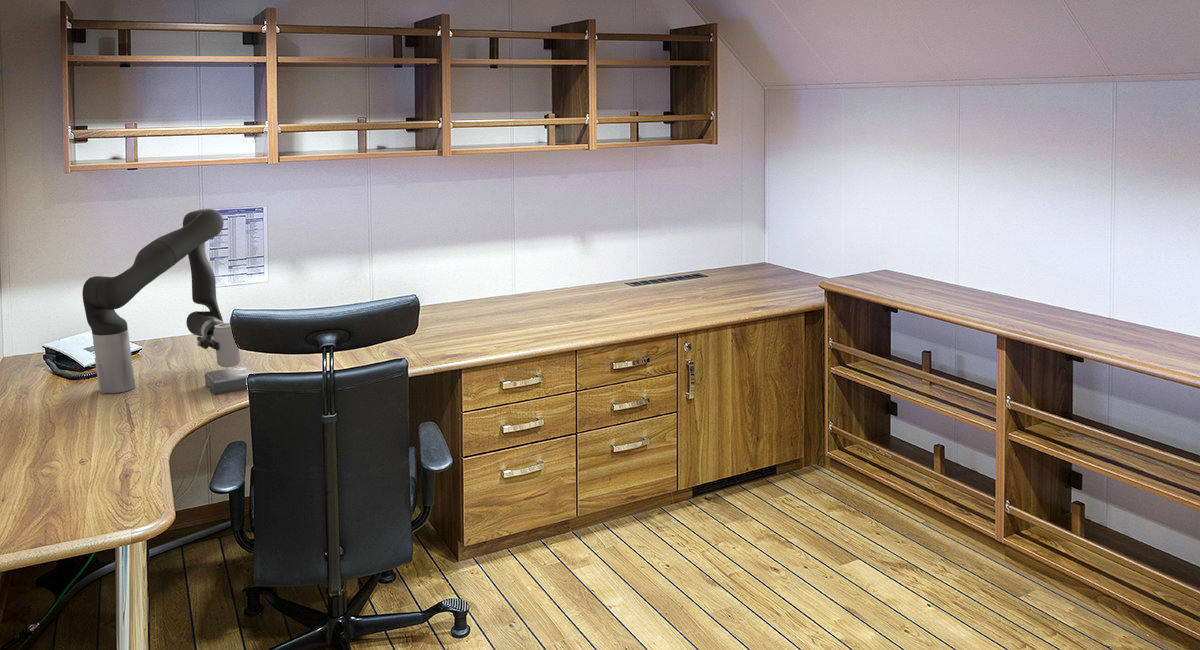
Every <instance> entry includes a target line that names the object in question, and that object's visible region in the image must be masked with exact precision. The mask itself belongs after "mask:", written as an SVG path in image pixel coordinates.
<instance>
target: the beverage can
mask: <svg viewBox="0 0 1200 650" xmlns="http://www.w3.org/2000/svg"><path fill="white" fill-rule="evenodd" d="M230 323H231V322H224V323H222V324H218V325H215V326H214V327H215V329H214V339H215V342H218V345H219V350H215V355H216V363H217V366H220V367H221V368H232V367H233V368H234V367H236V366H238V365H239V364H240V363H241V361H242V359H241V352H240V347H239V348H238V347H237V345H236V343H235V340H234V338H233V334H232V331H231V327H230Z"/></svg>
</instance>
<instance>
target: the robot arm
mask: <svg viewBox="0 0 1200 650" xmlns="http://www.w3.org/2000/svg"><path fill="white" fill-rule="evenodd" d="M224 224H225V223H224V217H223V215H222V214H221V213H220V212H219V211H218V210H216V209H213V208H203V209H198V210H193V211H190V212H188V213H186V214H185V215H184V217H183V219H182V227H181V228H179V229H176V230H173V231H171V232H169V233H166V234H164V235H162V236H159V237H157V238H156V239H153V241H151V242H149V243H147V245H144V247H142V248H141V249H140V250H139V251H138V252H137V254H136V256H135V259H134V261H133V264H132V265H131V267H129V268H128V269H126V270H124V272H122V273H120V274H118V275H116V276H101V275H96V276H91V277H89V278H88V279H87V280H86V281H85V282H84V283H83V286H82V295H81V296H82V303H83V307H84V314H85V316H86V322H87V324H88V326H89V328H90V330H91V335H92V343H93V349H94V356H95V357H94V361H95V362H94V364H95V370H96V377H97V385H98V390H99V392H100V394H102V395H104V394H117V393H118V394H119V393H124V392H128V391H131V390H133V389H135V388H136V381H135V375H134V366H133V359H132V351H131V344H130V343H131V342H130V336H129V328H128V322H127V320H126V319H124V318H123V317H121V316H120V315H118V313H117V312H116V310H118V309H120V308H122V307H124V306H125V305H126V304H128V303H129V302H130V301H131V300H132V299H133V298H134V297H135V296H137V294H139V293H140V292H141V290H142V289H144V288H145V287H146V286H148V285H149V284H150V283H152V282H153V281H155V280H156V279H157V278H158V277H159V276H161V275H163V274H164V273H165V272H167V271H168V270H170V269H171V268H173V267H174V266H175V265H176V264H177V263H178V262H180V261H181V260H183V259H184V258H185V257H186V256H188V260H189V265H190V267H189V268H190V273H191V274H190V275H191V298H192V299H191V300H192V302H193V303H194V304H197V305H202V306H205V307H206V308H208V310H209V311H208V310H207V311H203V310H202V311H200V310H199V311H192V312H190V313H189V314H188V315H187V317H186V327H187V330H188V332H190V333H191V334H192V335H194V336H197V337H196V340H197V343H196V344H197V346H198V347H200V348H202V349H204V350H207V349H208V348H210V349H212V350H215V351H216V350H219V345H218V342H215V339H214V329H215V327H214V326H215V325H218V324H222V323H225V322H224V320H223V316H222V313H221V311H220V308H219V304H218V299H217V288H216V287H217V285H216V276H215V273H214V270H213V268H212V266H211V264H210V262H209V260H208V257H207V254H206V250H205V242H208V241H209V240H212V239H214V237H216V236H219V235H220V233H221V232H222V230H223V228H224Z"/></svg>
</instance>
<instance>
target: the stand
mask: <svg viewBox="0 0 1200 650" xmlns="http://www.w3.org/2000/svg"><path fill="white" fill-rule="evenodd" d="M249 374H254V373H253V372H252V371H251V370H250V369H249V368H248V367H247V366H239V367H233V368H232V367H230V368H225V369H219V370H212V371H207V372H205V373H204V381H205V382H204V383H205V386H206V388H207V389H209V391H210V393H212V395H213V396H219V395H224V393H225V394H231V393H237V392H243V391H248V390H247V385H246V378H247V376H248V375H249ZM236 391H237V392H236ZM230 392H231V393H230ZM218 394H219V395H218Z"/></svg>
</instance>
